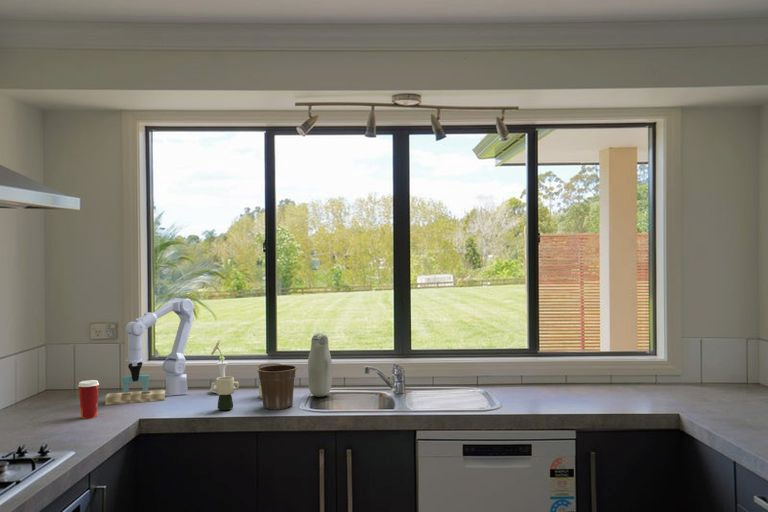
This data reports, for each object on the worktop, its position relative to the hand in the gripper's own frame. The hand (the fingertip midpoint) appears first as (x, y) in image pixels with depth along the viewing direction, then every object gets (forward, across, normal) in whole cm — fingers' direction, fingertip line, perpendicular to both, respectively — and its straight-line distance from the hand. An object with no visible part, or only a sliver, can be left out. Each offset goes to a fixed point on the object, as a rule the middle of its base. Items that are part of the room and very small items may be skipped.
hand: (135, 380), depth 282 cm
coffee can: (+10, +12, +57) cm, 59 cm away
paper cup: (+9, +23, -16) cm, 30 cm away
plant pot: (+10, +33, +56) cm, 66 cm away
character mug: (+10, +31, +36) cm, 48 cm away
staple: (+5, 0, 0) cm, 5 cm away
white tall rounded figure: (+10, +20, +78) cm, 81 cm away
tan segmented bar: (+9, -3, 0) cm, 10 cm away
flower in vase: (+10, -4, +37) cm, 38 cm away
